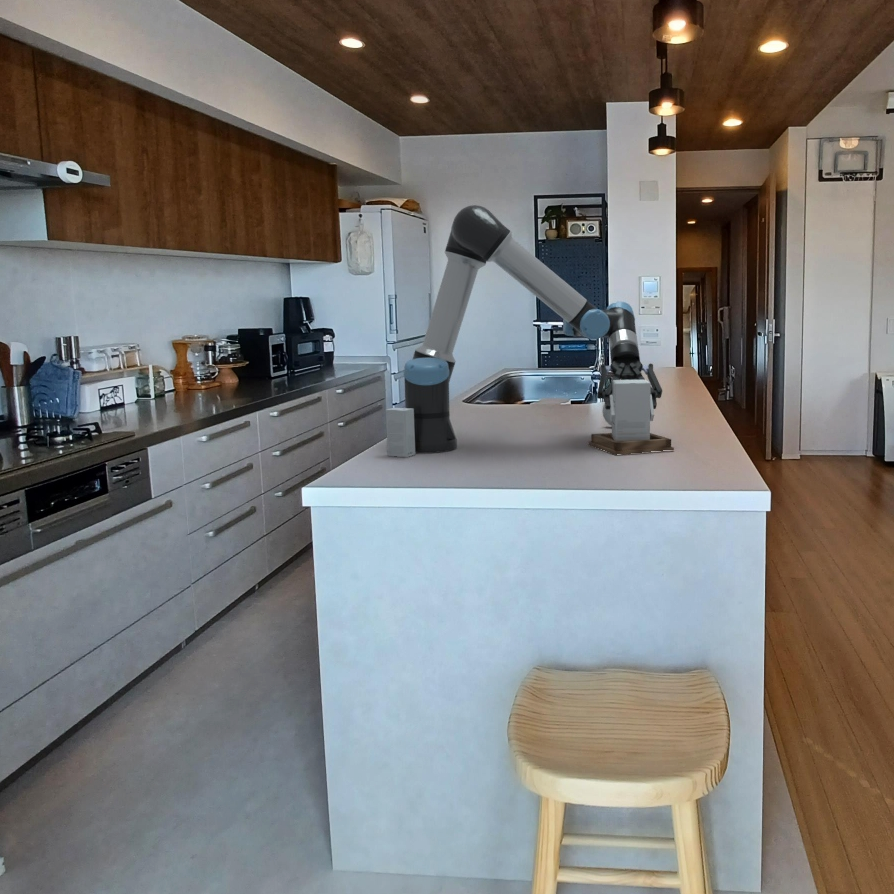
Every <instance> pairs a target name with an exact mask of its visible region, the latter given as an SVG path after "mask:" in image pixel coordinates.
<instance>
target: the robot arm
mask: <svg viewBox="0 0 894 894" xmlns="http://www.w3.org/2000/svg"><path fill="white" fill-rule="evenodd" d="M512 233H513V232H512V231H511V230H510V229H509V228H508V227H506V226H505V224H503V223H502V222H501V221H500V220H499V219H498V218H497V217H496V216H495V215H494V213H493V212H491V210H489V209H487V207H484V206H482V205H479V204H478V205H477V204H474V205H473V204H472V205H468V206H465V207H463V208H461V210H459V211H458V213H456V215H455V216H454V219H453V222H452V225H451V229H450V233H449V236H448V240H447V244H446V246H445V249H444V250H445V251H444V254H445V256H446V258H447V263H446V266H445V269H444V272H443V275H442V276H443V277H442V279H441V282H440V285H439V286H440V287H439V289H438V292H437V295H436V299H435V302H434V305H433V309H432V313H431V315H430V319H429V322H428V325H427V330H426V332H425V335H424V338H423V342H422V344H421V345H420V346H418V347H417V348H415V350H414V353H413V357H412V359H410V360H408V361H406V362H405V363H404V366H403V367H404V368H403V369H404V370H403V377H404V408H413V409H414V431H415V453H422V454H423V453H424V454H425V453H428V454H429V453H440V452H448V451H453V450H456V449H457V447H458V444H457V442H458V441H457V436H456V433H455V430H454V428H453V425H452V422H451V419H450V416H451V415H450V381H451V378H452V374H453V372H454V368H455V365H456V362H457V361H456V359H455V357H454V354H453V353H454V350H455V346H456V343H457V340H458V336H459V333H460V330H461V327H462V323H463V322H464V321H463V320H464V317H465V314H466V310H467V308H468V304H469V300H470V298H471V295H472V291H473V288H474V284H475V281H476V278H477V275H478V272H479V270H480V269H482V268H483V267H484V266H486V264H487V263H488V262H489V263H491V262H493V263H495V264H496V266H498V267H500V269H502V270H503V271H505V273H507V274H509V276H511V278H513V279H514V280H515V281H516V282H518V283H519V284H520V285H522V286H523V287H524V288H525V289H526V290H528V291H529V292H530V293H531V294H532V295H534V296H535V297H536V298H537V299H538V300H540V301H541V302H542V303H544V304H545V305H546V306H547V307H548V308H549V309H551V310H552V311H553V312H555V314H557V315H558V316H560V317H561V319H562V331H563V334H564V335H565V336H569V337H574V338H575V337H583V338H586V339H588V340H598V339H601V338H608V345H609V355H610V363H611V364H610V365H606V364H604V363H602V364H600V369H599V373H600V379H599V384H598V389H597V395H596V398H597V399H598V400H600V399H603V402H604V404H605V408H606V409H610V419H611V422H612V421H614V417H615V411H614V402H613V395H612V389H613V388H612V381H613V380H646V379H645V377H644V376H643V374H642V371H643V372H644V374H645V375H647V379H648V382H650V383H651V388H650V422H653V421H654V417H655V411H654V410H656V409H657V405H658V403H657V399H661V398H662V394H663V389H662V387H661V384H660V383H659V382H660V381H659V380H658V377H657V376H656V373H655V371H654V364H653V363H648V365H647V364H646V365H644V364H642V362H641V358H640V357H641V356H640V350H639V344H638V342H639V341H638V336H637V330H636V317H635V315H634V311H633V308H632V306H631V305H630V304H629V303H627V302H625V301H616V302H612V303H610V304H609V305H608V306H607V307H606V309H599V308H597V307H596V306H595V305H594V304H593V303H591V302H590V301H589V300H587V299H586V297H584V296H583V295H582V294H581V293H579V291H577V290H576V289H575V288H574V287H572V286H571V285H570V284H569V283H567V282H566V281H565V280H564V279H562V278H561V276H559V275H558V274H556V273H555V272H554V271H553V270H552V269H550V268H549V267H548V266H547V265H545V263H543V261H541V260H540V259H538V258H537V257H536V256H535V255H534V254H533V253H531V252H530V251H529V250H528V249H526V248H525V247H524V246H523V245H521V244H520V243H519V242H518V241H516V239H515V238H514V237H513V234H512ZM609 372H611V373H612V374H613V375H614V376H613V378H612V379H611V381H610V383H609V385H608V387H607V388H606V390H605V391H604V388H605V383H606V377H607V375H608V374H609Z"/></svg>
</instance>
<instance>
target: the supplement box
mask: <svg viewBox="0 0 894 894" xmlns="http://www.w3.org/2000/svg"><path fill="white" fill-rule="evenodd" d="M611 381H612V380H611ZM651 387H652V386H651V383H650V381H649V380H647V379H645V380H621V379H620V380H613V381H612V388H613V389H612V395H613V402H614V411H615V417H614V421H612V426H611V433H612V437H613V439H614V440H616V441H637V440H650V433H651V421H650V388H651Z"/></svg>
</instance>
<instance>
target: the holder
mask: <svg viewBox="0 0 894 894" xmlns="http://www.w3.org/2000/svg"><path fill="white" fill-rule="evenodd" d="M590 439H591V441H588V446H589V445H590V447H592V446H593V447H592V448H595V447H596V448H595V449H597V448H599V449H598V450H600V449H602V450H601V451H603V450H605V451H607V452H606V453H608V452H610V453H612V454H611V455H613V454H615V455H614V456H618V455H617V454H628V455H632V454H631V453H642V452H651V451H663V450H674V451H675V447H674V446H672V439H671V438H669V437H665V436H661V435H658V434H654V433H652V432H650V440H637V441H616V440H614V439H613V437H612V432H604V433H591V435H590ZM605 451H604V452H605ZM610 453H609V454H610Z"/></svg>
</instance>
